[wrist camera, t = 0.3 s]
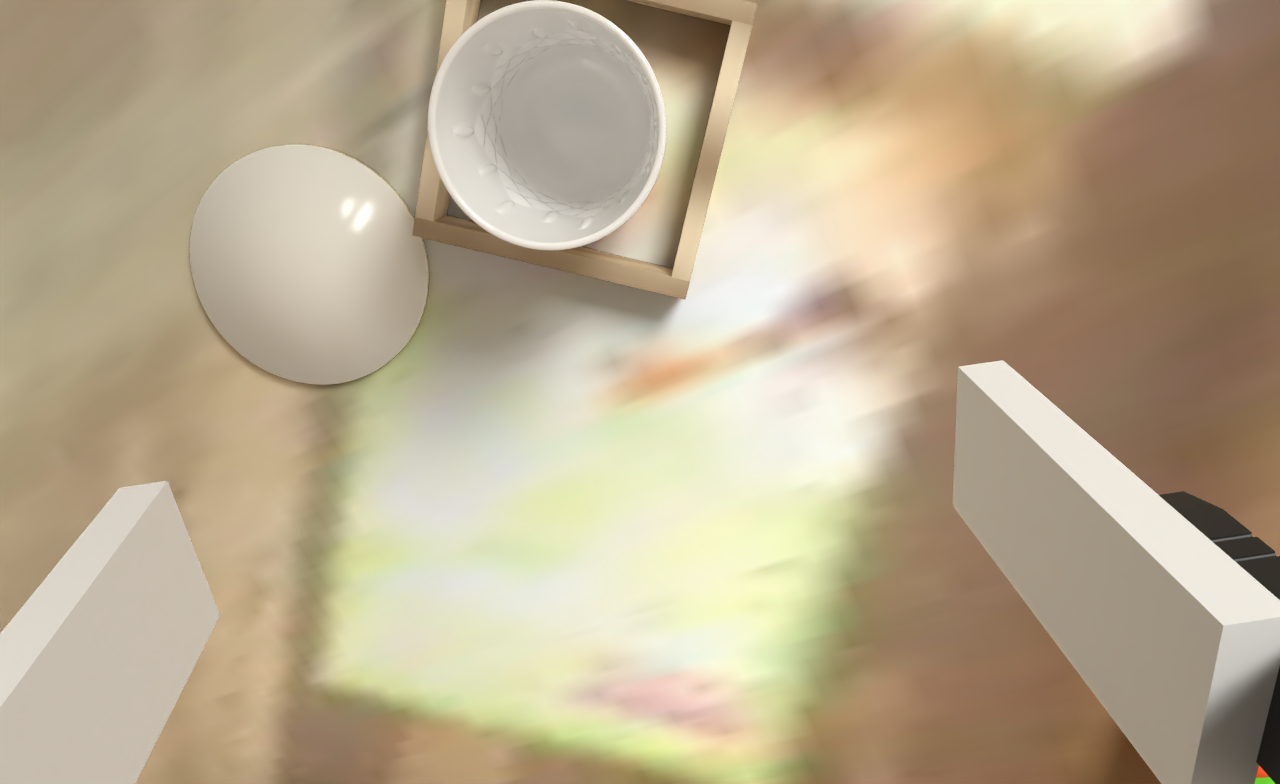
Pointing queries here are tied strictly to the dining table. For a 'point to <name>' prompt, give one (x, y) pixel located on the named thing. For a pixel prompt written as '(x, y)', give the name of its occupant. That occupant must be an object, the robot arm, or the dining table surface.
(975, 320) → the dining table surface
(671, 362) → the dining table surface
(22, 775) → the robot arm
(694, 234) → the frame
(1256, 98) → the dining table surface
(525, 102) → the white cup
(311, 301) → the coaster
